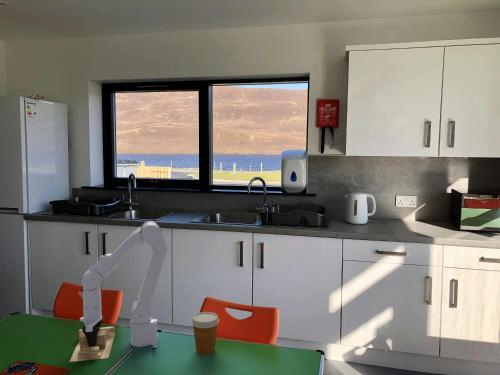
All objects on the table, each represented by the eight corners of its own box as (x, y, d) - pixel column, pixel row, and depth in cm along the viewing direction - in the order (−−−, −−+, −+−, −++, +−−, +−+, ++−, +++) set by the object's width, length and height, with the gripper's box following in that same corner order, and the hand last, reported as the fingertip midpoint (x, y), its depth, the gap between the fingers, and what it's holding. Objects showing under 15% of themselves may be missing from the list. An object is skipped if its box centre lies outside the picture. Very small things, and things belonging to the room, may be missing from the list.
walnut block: (106, 343, 141) (106, 330, 141) (104, 349, 137) (104, 335, 137) (82, 345, 139) (82, 332, 139) (80, 351, 136) (79, 337, 135)
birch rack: (114, 338, 148) (114, 326, 147) (108, 360, 131) (108, 347, 131) (79, 341, 145) (79, 329, 145) (69, 364, 129) (69, 351, 129)
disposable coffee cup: (186, 353, 137) (185, 319, 136) (201, 341, 145) (201, 309, 144) (209, 359, 132) (209, 324, 131) (224, 347, 141) (224, 314, 140)
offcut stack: (101, 355, 133) (101, 345, 133) (100, 358, 131) (100, 348, 131) (79, 357, 131) (78, 348, 131) (77, 360, 130) (77, 350, 129)
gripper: (84, 298, 143) (85, 334, 144) (75, 314, 129) (76, 354, 130) (104, 296, 145) (105, 333, 146) (98, 312, 131) (99, 352, 132)
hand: (93, 343), depth 138 cm, fingers closed on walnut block, 4 cm apart
